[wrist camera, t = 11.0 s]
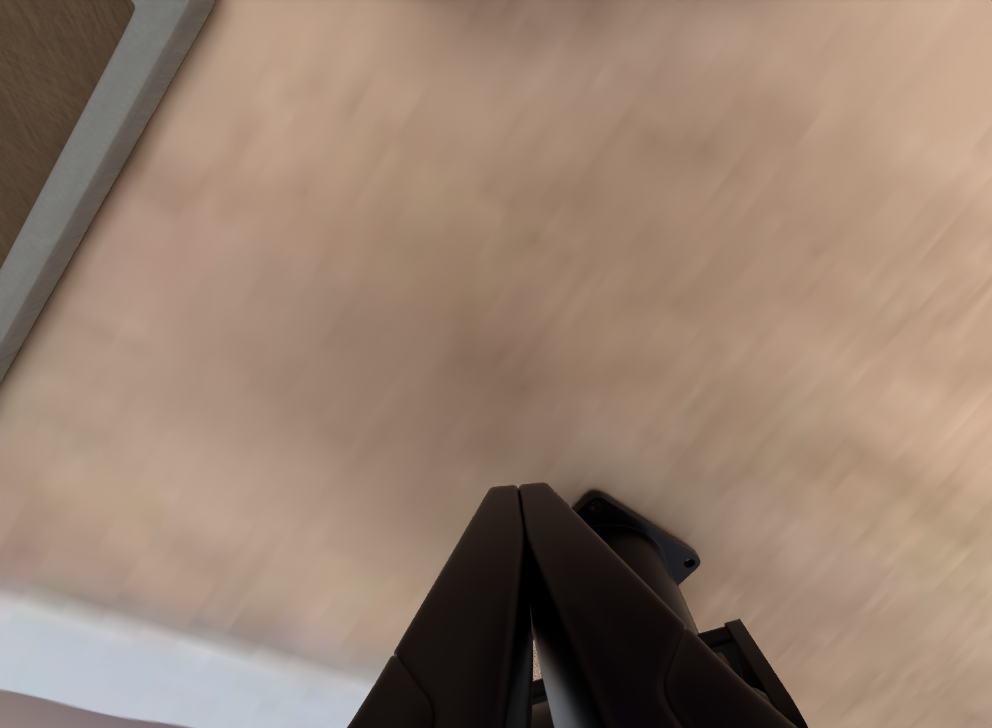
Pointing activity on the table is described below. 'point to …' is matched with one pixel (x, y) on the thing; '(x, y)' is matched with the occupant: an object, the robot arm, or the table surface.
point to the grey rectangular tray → (72, 127)
